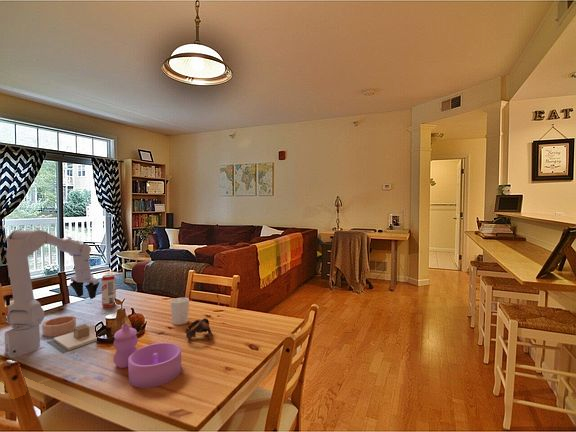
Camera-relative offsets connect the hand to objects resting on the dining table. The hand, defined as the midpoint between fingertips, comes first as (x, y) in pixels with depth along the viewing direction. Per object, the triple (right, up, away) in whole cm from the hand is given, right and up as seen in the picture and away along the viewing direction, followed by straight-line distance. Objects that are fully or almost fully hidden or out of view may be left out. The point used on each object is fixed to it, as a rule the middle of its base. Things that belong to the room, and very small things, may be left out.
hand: (86, 297), depth 140 cm
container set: (+47, -13, -42) cm, 64 cm away
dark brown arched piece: (+58, -12, -18) cm, 62 cm away
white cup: (+44, -11, -3) cm, 45 cm away
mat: (+11, -11, -20) cm, 26 cm away
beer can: (-1, -10, +19) cm, 21 cm away
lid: (+11, -11, -20) cm, 26 cm away
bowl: (-3, -11, -12) cm, 17 cm away
